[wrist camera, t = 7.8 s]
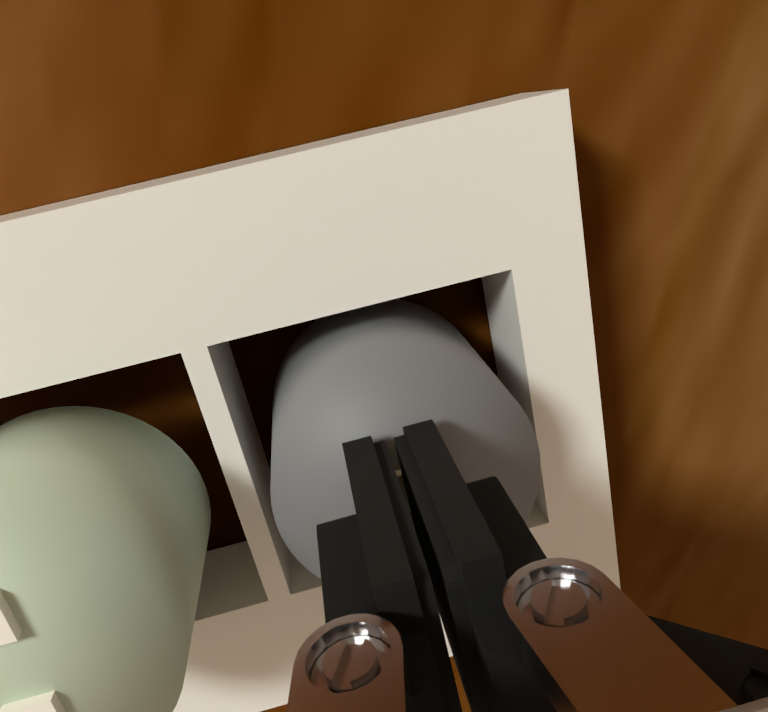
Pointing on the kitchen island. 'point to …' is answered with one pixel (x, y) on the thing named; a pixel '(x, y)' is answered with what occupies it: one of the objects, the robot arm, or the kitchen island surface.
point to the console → (315, 300)
